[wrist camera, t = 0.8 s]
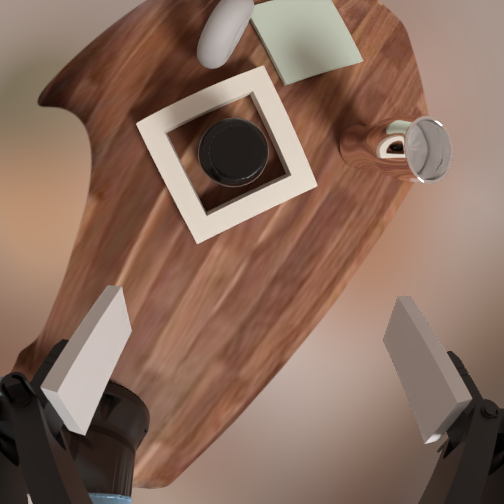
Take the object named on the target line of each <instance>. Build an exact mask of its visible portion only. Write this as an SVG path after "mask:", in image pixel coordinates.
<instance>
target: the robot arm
mask: <svg viewBox="0 0 504 504" xmlns="http://www.w3.org/2000/svg"><path fill="white" fill-rule="evenodd" d="M131 332H132V330H131V326H130V322H129V317H128V313H127V309H126V304H125V300H124V295H123V290H122V286H111V285H108V286H107V287H106V288H105V290H104V291H103V292H102V294H101V295H100V297H99V298H98V299H97V301H96V302H95V304H94V305H93V306H92V308H91V309H90V311H89V312H88V314H87V315H86V316H85V318H84V319H83V321H82V322H81V324H80V325H79V327H78V328H77V330H76V331H75V333H74V334H73V336H72V337H71V339H70V340H65V339H62V340H61V341H60V342H59V343H57V344H56V345H55V346H54V347H53V348H52V350H51V351H50V353H49V354H48V355H49V356H47V357H46V359H45V360H44V363H42V365H41V367H40V368H39V370H38V371H37V373H36V374H35V376H34V378H33V379H32V381H31V382H30V383H29V381H28V380H27V378H26V376H25V375H23V374H22V373H19V372H12V373H10V374H8V375H6V376H5V377H0V504H28V497H27V496H30V497H31V500H32V503H33V504H131V502H132V498H131V494H132V482H133V472H134V462H135V453H136V450H137V449H138V447H139V445H140V444H141V442H142V440H143V438H144V437H145V435H146V434H147V432H148V429H149V422H150V414H149V411H148V409H147V407H146V406H145V404H144V403H143V402H142V401H141V400H140V399H139V398H138V397H137V396H136V395H135V394H133V393H132V392H130V391H129V390H127V389H125V388H123V387H121V386H118V385H116V384H113V383H109V382H108V381H109V378H110V376H111V374H112V372H113V370H114V367H115V365H116V363H117V361H118V359H119V357H120V355H121V352H122V350H123V348H124V346H125V344H126V342H127V340H128V338H129V336H130V334H131ZM383 341H384V343H385V346H386V348H387V350H388V352H389V355H390V357H391V359H392V362H393V364H394V366H395V368H396V371H397V373H398V376H399V378H400V380H401V383H402V385H403V388H404V390H405V393H406V395H407V398H408V400H409V403H410V406H411V408H412V411H413V413H414V416H415V419H416V421H417V424H418V427H419V430H420V432H421V435H422V438H423V441H424V443H425V444H426V443H430V442H433V441H437V440H440V439H441V437H442V436H443V435H444V434H445V433H446V432H447V434H448V437H449V438H448V439H447V440H446V441H445V442H444V443H443V444H442V446H441V447H440V448H439V449H438V451H437V452H440V451H441V450H442V449H443V450H442V453H441V455H440V457H439V460H438V462H437V465H436V467H435V470H434V472H433V474H432V476H431V479H430V481H429V483H428V485H427V487H426V489H425V491H424V493H423V495H422V498H421V499H420V501H419V503H418V504H504V409H499V408H498V406H497V405H496V404H495V403H494V402H492V401H491V400H487V399H483V398H482V397H481V394H480V393H479V391H478V389H477V387H476V386H475V384H474V382H473V380H472V378H471V377H470V375H468V372H467V370H466V369H465V368H464V365H463V363H462V362H461V360H460V358H459V357H457V356H456V355H455V354H454V353H453V352H452V351H448V352H446V351H445V349H444V347H443V346H442V344H441V342H440V341H439V339H438V338H437V336H436V335H435V333H434V331H433V330H432V328H431V327H430V325H429V323H428V322H427V321H426V319H425V317H424V316H423V314H422V313H421V311H420V310H419V308H418V307H417V305H416V304H415V302H414V301H413V299H412V298H411V296H407V297H406V296H401V297H397V300H396V303H395V306H394V309H393V312H392V315H391V318H390V321H389V324H388V327H387V330H386V333H385V335H384V338H383Z"/></svg>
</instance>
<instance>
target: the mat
mask: <svg viewBox="0 0 504 504" xmlns="http://www.w3.org/2000/svg"><path fill="white" fill-rule="evenodd" d="M250 22H251V23H252V25H253V27H254V29H255V31H256V32H257V34H258V36H259V38H260V40H261V42H262V43H263V45H264V47H265V49H266V51H267V53H268V55H269V57H270V59H271V61H272V63H273V65H274V67H275V69H276V71H277V73H278V75H279V77H280V79H281V81H282V83H283V85H284V86H285V85H288V84H291V83H294V82H297V81H300V80H303V79H306V78H309V77H312V76H315V75H318V74H321V73H325V72H328V71H331V70H335V69H338V68H342V67H345V66H349V65H353V64H357V63H360V62H362V61H363V59H362V57H361V55H360V53H359V51H358V49H357V47H356V45H355V43H354V41H353V39H352V37H351V35H350V33H349V31H348V29H347V27H346V26H345V24H344V22H343V20H342V18H341V16H340V15H339V13H338V11H337V9H336V8H335V6H334V4H333V3H332V1H331V0H273V1H268V2H265V3H261V4H257V5H254V10H253V13H252V15H251V18H250Z"/></svg>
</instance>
